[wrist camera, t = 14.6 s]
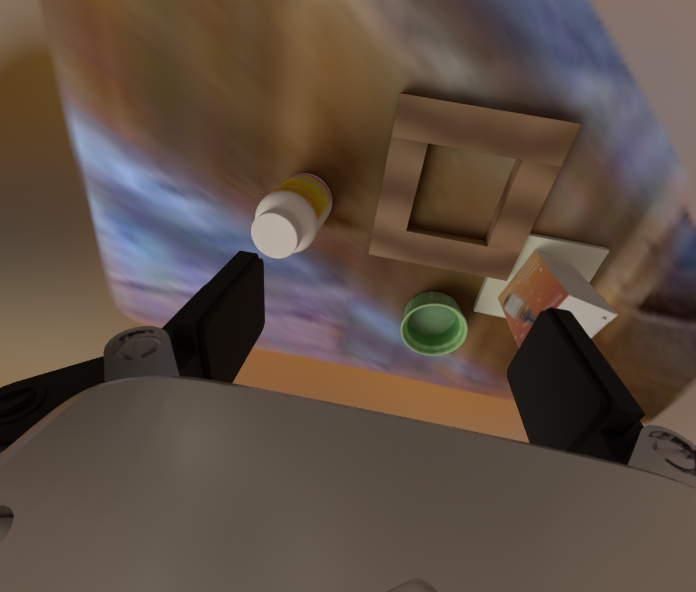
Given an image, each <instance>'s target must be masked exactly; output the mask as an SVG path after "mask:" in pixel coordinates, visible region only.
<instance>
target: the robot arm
mask: <svg viewBox="0 0 696 592" xmlns="http://www.w3.org/2000/svg"><path fill="white" fill-rule="evenodd" d="M264 323H265V306H264V264H263V259H260V258H259V257H258V254H256V253H251V252H245V251H239V252H238V253H237V254H236V255H235V256H234V257H233V258H232V259H231V260H230V261H229V262H228V263H227V264H226V265H225V266H224V267H223V268H222V269H221V270H220V271H219V272H218V273H217V274H216V275H215V276H214V277H213V278H212V279H211V280H210V281H209V282H208V283H207V284H206V285H204V286H203V287H202V288H201V289H200V290H199V291H198V292H197V293H196V294H195V295H194V296H193V297H192V298H191V299H190V300H189V301H188V302H187V303H186V304H185V305H184V306H183V307H182V308H181V309H180V310H179V311H178V312H177V313H176V315H175V316H174V317H173V318H172V319H171V320H170V321H169V322H168V323H167V324H166V325H165V326H164V327H163V328H158V327H155V326H141V327H134V328H132V329H128V330H125V331H123V332H121V333H119V334H117V335H116V336H114V337H113V338H112V339H110V340H109V342H108V343H107V344H106V346H105V348H104V356H102V357H99V358H96V359H92V360H89V361H85V362H82V363H79V364H75V365H72V366H68V367H65V368H62V369H58V370H55V371H51V372H48V373H45V374H41V375H38V376H34V377H31V378H28V379H24V380H21V381H17V382H14V383H12V384H9V385H6V386H3V387H1V388H0V592H696V445H694V444H693V443H692V442H690V441H689V440H687V439H686V438H684V437H683V436H681V435H680V434H678V433H676V432H674V431H672V430H670V429H667V428H663V427H661V426H655V425H648V426H645V427H644V426H643V425H642V423H641V422H640V421H639V420H640V419H641V418H642V417H643V416H644V415H645V413H644V412H643V410H642V409H641V407H640V406H639V405H638V403H637V402H636V401H635V399H634V398H633V396H632V395H631V394H630V392H629V391H628V390H627V388H626V387H625V385H624V384H623V383H622V381H621V380H620V378H619V377H618V376H617V374H616V373H615V372H614V370H613V369H612V367H611V366H610V365H609V363H608V362H607V360H606V359H605V358H604V356H603V355H602V354H601V352H600V351H599V349H598V348H597V347H596V345H595V344H594V343H593V341H592V340H591V338H590V337H589V336H588V334H587V333H586V331H585V330H584V329H583V327H582V326H581V325H580V323H579V322H578V320H577V319H576V318H575V316H574V315H573V314H572V312H571V311H569V310H564V309H558V308H553V307H550V308H548V309H546V310H543V311H541V312H540V313H539V314H538V316H537V318H536V320H535V321H534V323H533V325H532V327H531V328H530V330H529V332H528V334H527V335H526V337H525V339H524V341H523V343H522V344H521V346H520V348H519V350H518V351H517V353H516V355H515V357H514V358H513V360H512V362H511V364H510V365H509V367H508V370H507V378H508V382H509V384H510V387H511V390H512V393H513V396H514V399H515V402H516V405H517V408H518V410H519V413H520V416H521V419H522V422H523V425H524V428H525V430H526V434H527V436H528V439H529V442H530V443H526V442H522V441H516V440H511V439H507V438H503V437H498V436H493V435H488V434H483V433H479V432H474V431H469V430H464V429H459V428H455V427H450V426H445V425H440V424H435V423H430V422H425V421H420V420H416V419H410V418H406V417H401V416H396V415H391V414H386V413H381V412H376V411H371V410H366V409H362V408H357V407H351V406H346V405H341V404H336V403H331V402H326V401H321V400H316V399H311V398H306V397H301V396H295V395H291V394H286V393H281V392H276V391H270V390H265V389H260V388H255V387H249V386H245V385H239V384H233V381H234V379H235V377H236V376H237V374H238V372H239V370H240V368H241V367H242V365H243V363H244V362H245V360H246V358H247V356H248V355H249V353H250V351H251V349H252V348H253V346H254V344H255V343H256V341H257V339H258V337H259V336H260V334H261V332H262V330H263V328H264Z"/></svg>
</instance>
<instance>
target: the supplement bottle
mask: <svg viewBox="0 0 696 592" xmlns="http://www.w3.org/2000/svg"><path fill="white" fill-rule="evenodd" d="M331 209H332V195H331V192H330V190H329V188H328V186H327V185H326V183H325V182H324V181H323V180H322V179H320V178H319V177H317V176H315V175H313V174H309V173H300V174H296V175H294V176H292V177H291V178H289V179H288V180H287V181H285V182H284V183H283V184H281V185H280V186H279V187H278V188H276V189H275V190H274V191H273V192H271V193H270V194H269V195H267V196H266V197H265V198H264V199H263V200H262V201H261V202H260V204H259V205H258V207H257V210H256V214H255V220H254V222H253V224H252V228H251V234H252V239H253V241H254V243H255V245H256V247H257V248H258V249H259V250H260V251H261V252H262V253H264V254H265V255H267V256H269V257H272V258H285V257H287V256H289V255H291V254H292V253H296V252H300V251H302V250H304V249H305V248H307V247H308V246H309V245H310V244H311V243H312V241H313V240H314V238H315V237H316V235H317V233H318V232H319V230H320V228H321V227H322V225H323V224H324V222H325V221H326V219H327V217H328V216H329V214H330V212H331Z"/></svg>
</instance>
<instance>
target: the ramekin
mask: <svg viewBox="0 0 696 592" xmlns="http://www.w3.org/2000/svg"><path fill="white" fill-rule="evenodd" d="M400 331H401V336H402V339H403V341H404V342H405V344H406V345H407V346H408V347H409V348H410V349H412V350H413V351H415V352H417V353H420V354H423V355H429V356H437V355H444V354H447V353H450V352H452V351H454V350H456V349H457V348H458V347H460V346H461V345H462V343H463V342H464V341H465V339H466V337H467V333H468V325H467V321H466V319H465V317H464V316H463V314H462V313H461V310H460V308H459V306H458V304H457V302H456V301H455V300H454V299H453V298H452V297H450V296H448V295H447V294H444V293H441V292H436V291H430V292H424V293H421V294H419V295H417V296H415V297H414V298H412V299H411V300H410V301H409V302H408V304H407V306H406V308H405V311H404V316H403V320H402V323H401V328H400Z"/></svg>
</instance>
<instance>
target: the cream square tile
mask: <svg viewBox="0 0 696 592" xmlns="http://www.w3.org/2000/svg"><path fill="white" fill-rule="evenodd" d="M534 250H537V251H539V252H541V253H544V254H546V255H548V256H551V257H553V258H555V259H558V260H560V261H562V262H565V263H567V264H569V265H572V266H574V267H575V268H576V269H577V270H578V271H579V272H580V274H581V275H582V276H583V277H584V278H585V279H586V280H587V281H588V282H590V281H591V279H592V278H593V276H594V275H595V273H596V271H597V270H598V268H599V267H600V265H601V264H602V262H603V260H604V259H605V257H606V256H607V254H608V253H609V251H610V250H609V249H607V248H606V247H602V246H597V245H591V244H586V243H581V242H575V241H570V240H565V239H559V238H554V237H549V236H544V235H538V234H533V233H530V234H529V236H528V238H527V240H526V242H525V244H524V246H523V248H522V251H521V253H520V255H519V257H518V259H517V261H516V263H515V265H514V267H513V270H512V272H511V274H510V276H509V278H508V280H507V281H504V280H499V279H493V278H488V277H485V279H484V281H483V284H482V286H481V288H480V291H479V293H478V295H477V298H476V300H475V302H474V305H473V307H472V308H473V311H475V312H480V313H485V314H489V315H494V316H499V317H504V318H506V317H505V314H504V312H503V310H502V307H501V305H500V303H499V300H498V296H499V295H500V294H501V292H502V291H503V290H504V289H505V288H506V286H507V285H508V284H509V283H510V281H511V280H512V279H513V278H514V276H515V275H516V274H517V273H518V271H519V270H520V269H521V268H522V266H523V265H524V264H525V262H526V261H527V260H528V258H529V257H530V256H531V254H532V253H533V251H534Z"/></svg>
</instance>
